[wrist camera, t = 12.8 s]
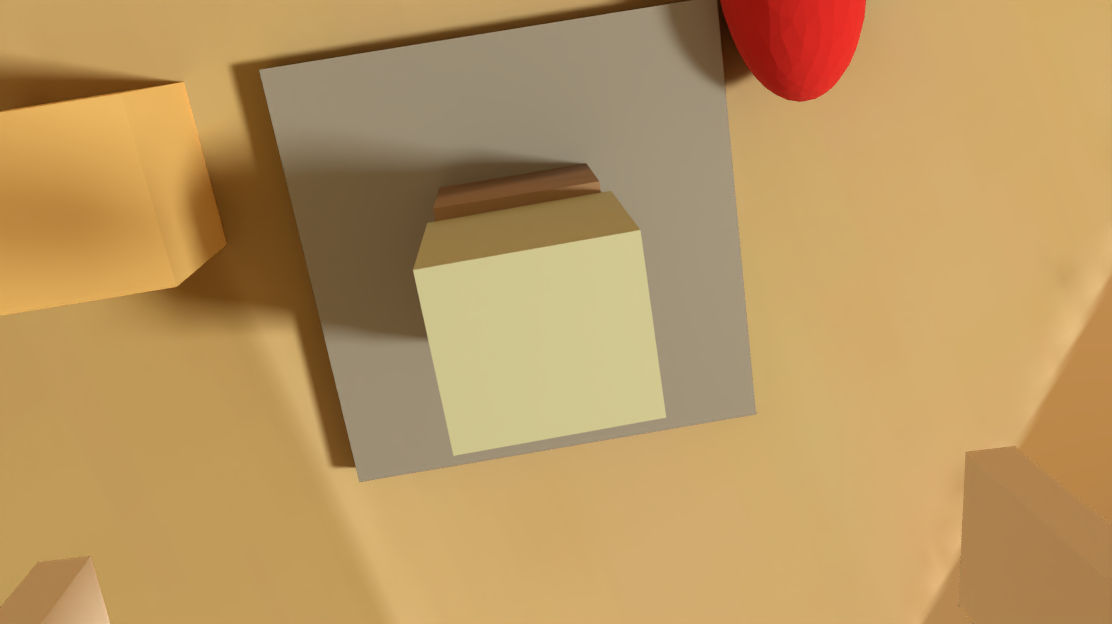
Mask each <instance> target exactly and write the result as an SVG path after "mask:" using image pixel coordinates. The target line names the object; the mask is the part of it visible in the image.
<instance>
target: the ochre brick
mask: <svg viewBox="0 0 1112 624" xmlns="http://www.w3.org/2000/svg"><path fill="white" fill-rule="evenodd" d="M226 245H227V242H226V238H225V235H224V231H223V227H222V223H221V220H220V216H219V212H218V208H217V205H216V201H215V197H214V193H213V190H212V186H211V182H210V178H209V175H208V171H207V167H206V163H205V160H204V156H203V152H202V148H201V144H200V141H199V137H198V133H197V129H196V126H195V122H194V118H193V114H192V111H191V107H190V103H189V99H188V96H187V92H186V88H185V84H184V82H180V83H174V84H167V85H161V86H154V87H148V88H142V89H135V90H129V91H123V92H116V93H110V94H104V95H97V96H91V97H85V98H78V99H72V100H66V101H59V102H53V103H47V104H40V105H34V106H28V107H21V108H15V109H9V110H3V111H0V316H1V315H7V314H13V313H19V312H25V311H31V310H38V309H44V308H50V307H56V306H62V305H68V304H74V303H81V302H87V301H93V300H99V299H105V298H111V297H118V296H124V295H130V294H136V293H142V292H148V291H154V290H161V289H167V288H173V287H177V286H178V285H179V284H181V283H182V282H183V281H184V280H185V279H186V278H188V277H189V276H190V275H191V274H192V273H194V272H195V271H196V270H197V269H198V268H200V267H201V266H202V265H203V264H204V263H206V262H207V261H208V260H209V259H210V258H212V257H213V256H214V255H215V254H216V253H217V252H219V251H220V250H221V249H222V248H223V247H225V246H226Z"/></svg>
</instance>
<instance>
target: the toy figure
mask: <svg viewBox="0 0 1112 624" xmlns="http://www.w3.org/2000/svg"><path fill="white" fill-rule="evenodd" d="M720 2H721V6H722V10H723V14H724V17H725V19H726V22H727V25H728V28H729V30H730V33H731V36H732V38H733V40H734V43H735V45H736V47H737V49H738V52H739V53H740V55H741V57H742V59H743V60H744V62H745V64H746V65H747V67H748V68H749V70H750V71H751V72H752V73H753V75H754V76H755V77H756V78H757V79H758V80H759V81H760V82H761V83H762V84H763V85H764V86H765V87H766V88H767V89H768V90H770V91H771V92H773V93H774V94H776V95H778V96H780V97H782V98H785V99H787V100H792V101H799V102H801V101H807V100H811V99H816V98H817V97H819V96H821V95H823V94H824V93H826V92H827V91H828V90H830V89H831V88H832V87H833V86H834V85H835V84H836V83H837V82H838V80H839V79H840V77H841V76H842V74H843V73H844V72H845V70H846V69H847V67H848V66H849V64H850V62H851V59H852V57H853V54H854V52H855V50H856V47H857V44H858V41H859V37H860V33H861V29H862V25H863V21H864V15H865V5H866V0H720Z"/></svg>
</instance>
